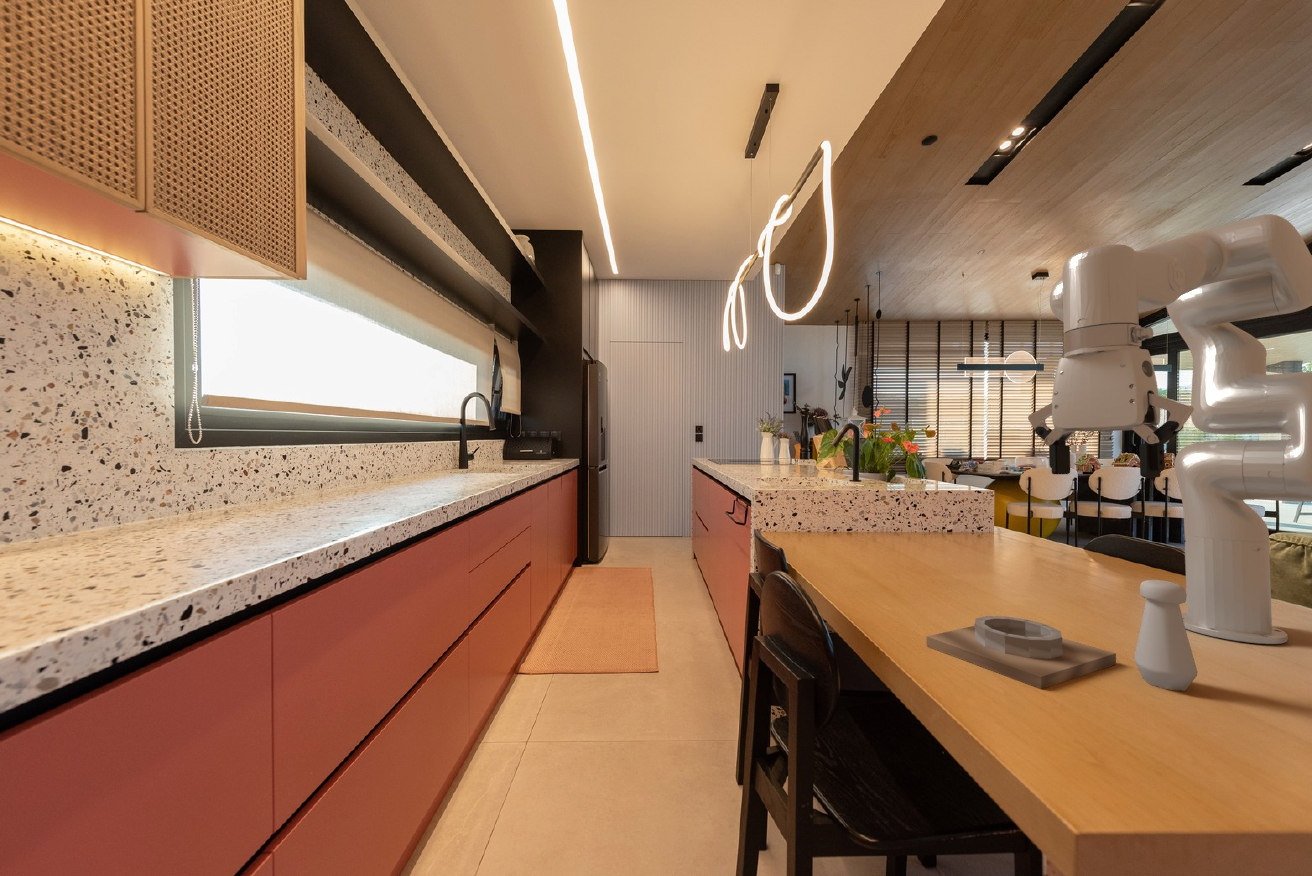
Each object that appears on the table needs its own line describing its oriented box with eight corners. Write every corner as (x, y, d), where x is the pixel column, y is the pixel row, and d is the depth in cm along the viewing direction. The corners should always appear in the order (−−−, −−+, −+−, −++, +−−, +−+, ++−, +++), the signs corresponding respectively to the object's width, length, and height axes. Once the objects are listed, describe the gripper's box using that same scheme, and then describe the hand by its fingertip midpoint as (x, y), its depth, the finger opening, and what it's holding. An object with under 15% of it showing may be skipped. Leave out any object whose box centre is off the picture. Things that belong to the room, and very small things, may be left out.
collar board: (999, 629, 87) (998, 605, 88) (1116, 664, 73) (1115, 635, 73) (926, 646, 80) (926, 619, 80) (1041, 689, 65) (1040, 656, 65)
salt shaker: (1211, 696, 63) (1208, 589, 64) (1156, 692, 64) (1153, 586, 65) (1174, 676, 69) (1171, 577, 69) (1124, 672, 70) (1121, 575, 71)
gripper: (1204, 333, 62) (1208, 478, 61) (1044, 358, 77) (1046, 473, 77) (1173, 326, 59) (1177, 479, 58) (1013, 353, 74) (1015, 473, 74)
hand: (1102, 475), depth 67 cm, fingers open, 9 cm apart
